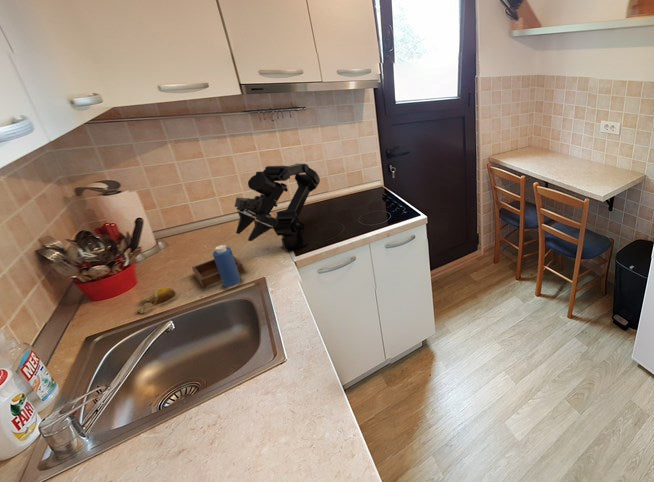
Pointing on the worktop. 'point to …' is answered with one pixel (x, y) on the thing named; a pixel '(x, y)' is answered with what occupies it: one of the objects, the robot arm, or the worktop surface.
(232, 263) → the bottle
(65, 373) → the worktop surface
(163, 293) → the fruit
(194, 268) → the tray
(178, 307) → the worktop surface
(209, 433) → the worktop surface
